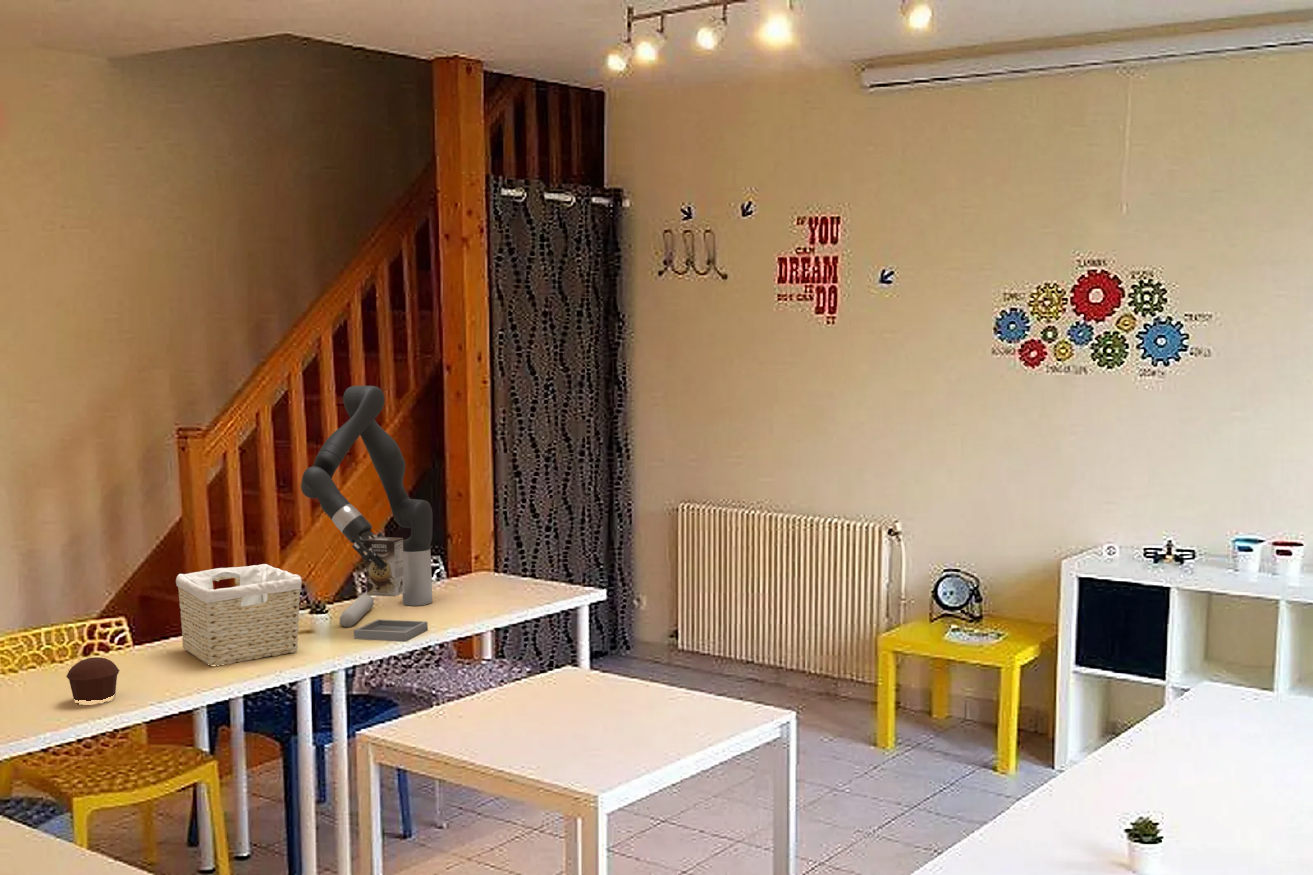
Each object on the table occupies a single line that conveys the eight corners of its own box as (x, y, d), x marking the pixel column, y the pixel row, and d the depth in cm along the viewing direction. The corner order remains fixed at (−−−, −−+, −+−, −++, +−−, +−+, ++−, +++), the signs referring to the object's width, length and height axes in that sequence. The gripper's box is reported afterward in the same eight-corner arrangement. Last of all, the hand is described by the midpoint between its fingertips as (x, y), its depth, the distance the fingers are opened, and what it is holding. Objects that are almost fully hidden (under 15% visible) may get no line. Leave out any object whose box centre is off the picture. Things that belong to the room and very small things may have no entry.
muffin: (109, 691, 322) (106, 650, 321) (129, 699, 314) (126, 658, 313) (59, 701, 313) (57, 660, 312) (79, 710, 305) (76, 668, 305)
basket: (308, 653, 356) (304, 574, 354) (209, 670, 340) (205, 587, 338) (271, 635, 377) (268, 561, 376) (176, 651, 361) (172, 573, 360)
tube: (357, 615, 385) (376, 596, 410) (339, 609, 385) (359, 591, 410) (351, 632, 385) (371, 612, 410) (334, 626, 385) (354, 607, 410)
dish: (377, 627, 384) (377, 619, 384) (427, 630, 380) (427, 621, 380) (354, 638, 371) (353, 630, 371) (405, 641, 367) (405, 632, 366)
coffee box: (366, 595, 373) (363, 539, 371) (376, 591, 379) (374, 536, 378) (395, 597, 371) (393, 540, 369) (405, 592, 377) (403, 536, 375)
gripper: (346, 518, 368) (386, 561, 366) (372, 510, 382) (410, 552, 379) (330, 536, 370) (369, 579, 368) (356, 528, 384) (394, 569, 381)
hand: (390, 565), depth 374 cm, fingers closed on coffee box, 6 cm apart
